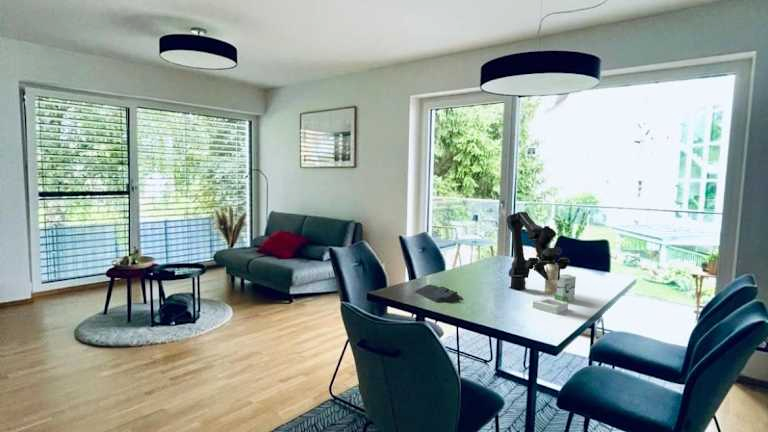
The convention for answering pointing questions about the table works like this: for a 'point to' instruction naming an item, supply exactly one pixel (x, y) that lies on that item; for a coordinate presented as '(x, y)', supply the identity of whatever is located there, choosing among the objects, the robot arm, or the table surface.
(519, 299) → the table surface
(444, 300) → the dark slate chunk
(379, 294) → the table surface
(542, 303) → the grey socket
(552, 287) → the birch pin
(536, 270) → the robot arm
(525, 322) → the table surface
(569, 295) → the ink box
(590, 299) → the table surface
